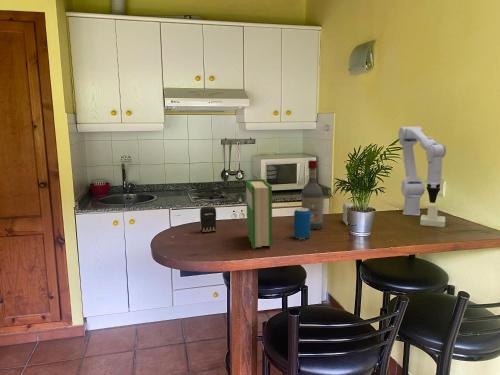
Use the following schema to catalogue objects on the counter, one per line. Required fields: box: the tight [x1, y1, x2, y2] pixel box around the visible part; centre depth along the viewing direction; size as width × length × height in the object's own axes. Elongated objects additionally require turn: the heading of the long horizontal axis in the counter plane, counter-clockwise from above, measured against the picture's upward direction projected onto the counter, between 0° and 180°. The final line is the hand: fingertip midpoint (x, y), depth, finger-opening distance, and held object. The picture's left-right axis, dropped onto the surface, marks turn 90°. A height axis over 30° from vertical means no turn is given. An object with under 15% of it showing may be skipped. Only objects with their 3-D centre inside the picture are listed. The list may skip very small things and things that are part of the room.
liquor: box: [301, 159, 324, 230], centre depth 174 cm, size 9×9×30 cm
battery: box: [199, 205, 217, 231], centre depth 170 cm, size 7×4×11 cm, turn 102°
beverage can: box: [293, 207, 311, 240], centre depth 160 cm, size 6×6×12 cm
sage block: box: [419, 214, 446, 228], centre depth 179 cm, size 10×10×2 cm
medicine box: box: [342, 202, 353, 226], centre depth 181 cm, size 8×4×9 cm, turn 179°
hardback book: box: [245, 178, 273, 248], centre depth 154 cm, size 18×7×24 cm, turn 7°
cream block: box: [426, 205, 439, 219], centre depth 178 cm, size 4×4×5 cm
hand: (432, 201), depth 178 cm, fingers open, 7 cm apart
